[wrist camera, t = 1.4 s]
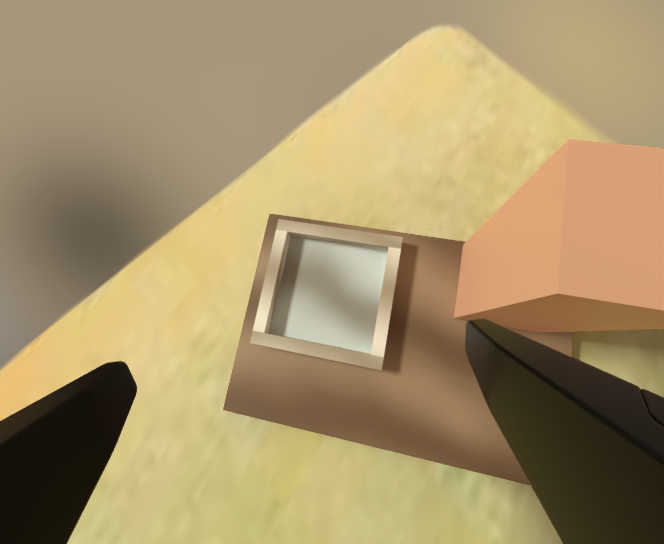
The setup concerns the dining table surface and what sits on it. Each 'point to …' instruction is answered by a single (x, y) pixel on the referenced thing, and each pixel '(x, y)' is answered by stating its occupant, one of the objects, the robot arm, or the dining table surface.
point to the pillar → (573, 246)
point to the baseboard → (368, 345)
